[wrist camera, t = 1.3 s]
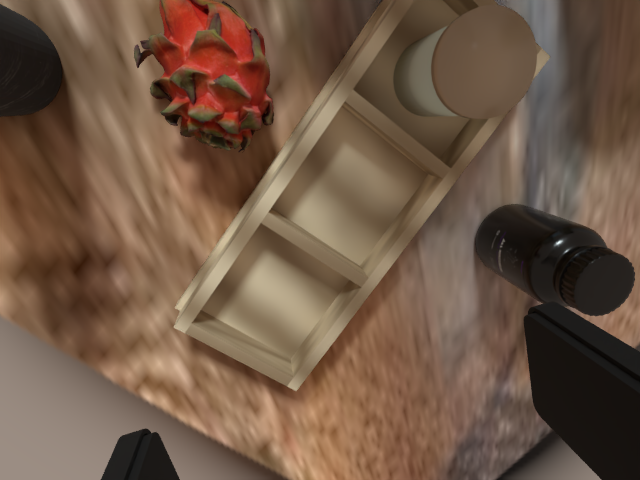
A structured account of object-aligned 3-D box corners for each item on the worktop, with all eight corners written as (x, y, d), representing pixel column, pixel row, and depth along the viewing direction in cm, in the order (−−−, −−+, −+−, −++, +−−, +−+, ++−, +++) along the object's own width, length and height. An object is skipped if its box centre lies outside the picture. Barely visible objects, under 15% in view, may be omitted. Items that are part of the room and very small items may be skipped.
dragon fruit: (240, 160, 36) (184, 20, 34) (319, 124, 31) (259, -40, 29) (164, 181, 29) (87, 7, 27) (251, 139, 24) (166, -76, 22)
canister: (424, 16, 32) (485, -21, 24) (481, 69, 34) (556, 52, 25) (375, 86, 33) (416, 75, 25) (433, 134, 35) (490, 139, 26)
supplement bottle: (459, 234, 39) (543, 282, 28) (517, 188, 39) (625, 216, 27) (495, 284, 41) (587, 346, 30) (550, 240, 41) (664, 287, 29)
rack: (409, -41, 32) (431, -64, 28) (521, 67, 36) (554, 61, 32) (177, 302, 37) (167, 324, 33) (296, 366, 41) (300, 393, 37)
